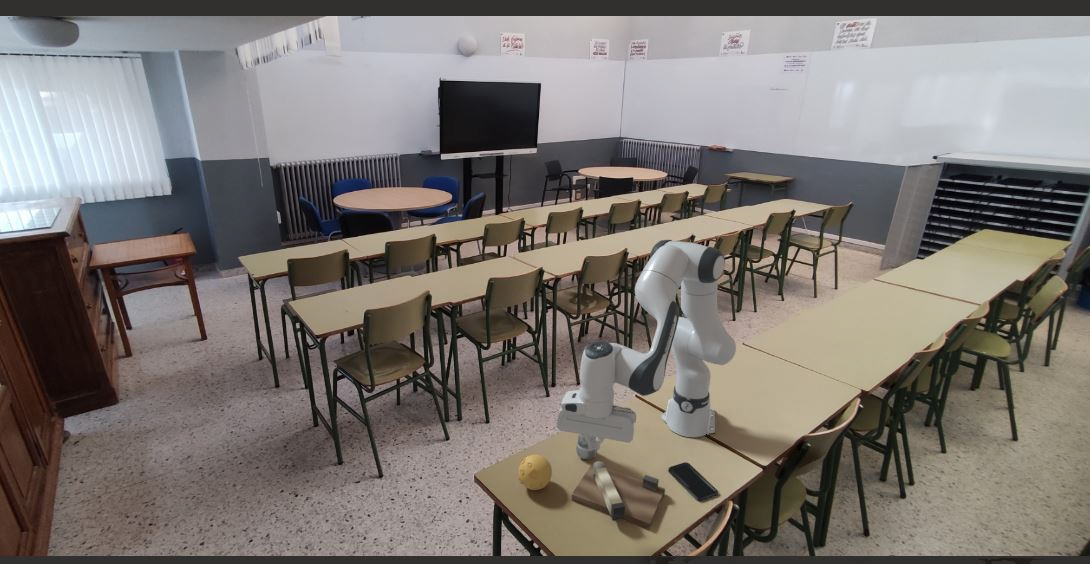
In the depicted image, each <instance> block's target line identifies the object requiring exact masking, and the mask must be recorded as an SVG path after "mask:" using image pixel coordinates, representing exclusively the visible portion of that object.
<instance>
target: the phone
mask: <svg viewBox="0 0 1090 564" xmlns="http://www.w3.org/2000/svg"><path fill="white" fill-rule="evenodd" d="M667 471H668V473H669V474H670V475H671V476H672V477H673V478H674V479H675V480H676V481H677V482H678V483H679V484H680V485H681V486H682V488H684V490H686V491H687V493H689V495H691V496H692V498H693V499H694V500H696V501H697V502H703V501H707V500H709V499H712V498H715V497H717V496H718V495H719V490H718V489H717V488H716V487H714V486H713V484H712V483H711V482H709V481H708V480H707V478H705V477H704V476H703V475H702V474H701V473H700V472H699V471H698V470H697V469H696V468H695V467H693V465H691V464H690V463H689V462H681V463H679V464H675V465H672V466H669V467H668V470H667Z"/></svg>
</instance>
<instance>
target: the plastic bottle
mask: <svg viewBox="0 0 1090 564" xmlns="http://www.w3.org/2000/svg"><path fill="white" fill-rule="evenodd" d="M577 435H578V437H577V442H576V446H575V450H576V454H577V455H578V457H579V458H580V459H583V460H591V459H594V458H595V457H596V455H597V452H598V450H596V449H590V448H588V443H587V441H586V439H585V438H584V435H583V434H577ZM590 437H591V439H592V440H596V441H597V437H594V436H590Z"/></svg>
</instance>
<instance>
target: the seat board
mask: <svg viewBox="0 0 1090 564" xmlns="http://www.w3.org/2000/svg"><path fill="white" fill-rule="evenodd" d="M605 468H606V470H607V472H608V474H609V476H610V478H611V480H612V482H613V484H614V486H615V488H616V490H617V492H618V494H619V496H620V498H621V500H622V502H623V503H624V505H625V514H624V519H622V520H623V521H626V522H629V523H631V524H633V525H636V526H639V527H641V528H644V529H647V530H651V527H652V524H653V522H654V519H655V517H656V515H657V513H658V511H659V508H660V505H661V504H662V501H663V499H664V497H665V494H666V488H665V487H662V486H659V479H658V478H656V477H653V476H650V475H647V474H645V475H644V477H643V478H642V479H643V480H641V479H638V478H635V477H633V476H630V475H626V474H624V473H621V472H618V471H616V470H612V469H609V468H607V467H605ZM593 469H594V463H591V464H590V466H589V467H588V469H587V470H586V471H585V473H584V475H583V477H582V478H581V479H580V481H579V482H578V483H577V486H576V487H575V488H574V490H573V491H572V493H571V499H570V500H571V501H573V502H575V503H579V504H581V505H583V506H587V507H589V508H591V507H592V509H594V510H597V511H600V512H602V513H605V514H607V515H610V516H611V514H610V512H609V510H608V508H607V505H606V503H605V501H604V499H603V496H602V494H601V492H600V490H599V487H598V485H597V483H596V481H595V478H594V477H593Z"/></svg>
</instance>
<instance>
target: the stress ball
mask: <svg viewBox="0 0 1090 564" xmlns="http://www.w3.org/2000/svg"><path fill="white" fill-rule="evenodd" d="M550 463H551V462H549V460H548V459H547V458H546V457H545V456H543V455H541V454H535V453H534V454H529V455H528V456H526V457H523V458H522V460H521V461H520V463H519V467H518V472H517V473H518V480H519V482H520V484H521V485H523V486H524V487H525V488H527V489H528V490H530V491H531V490H532V491H539V490H541V489H543V488H546V486H548V484H549V483H550V481H551V479H552V475H553V474H552V473H553V472H552V466H551V464H550Z"/></svg>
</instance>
